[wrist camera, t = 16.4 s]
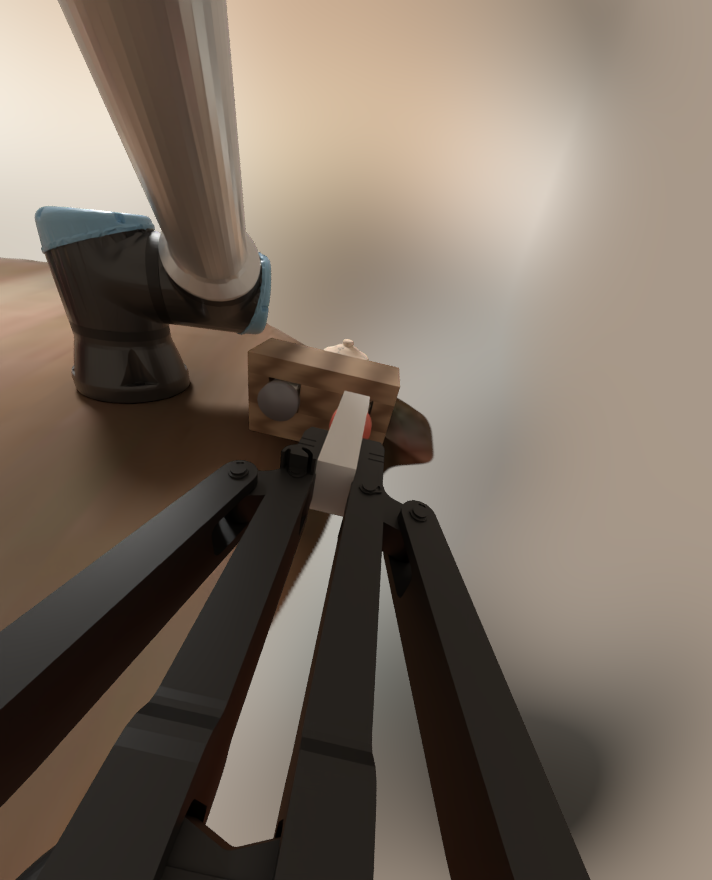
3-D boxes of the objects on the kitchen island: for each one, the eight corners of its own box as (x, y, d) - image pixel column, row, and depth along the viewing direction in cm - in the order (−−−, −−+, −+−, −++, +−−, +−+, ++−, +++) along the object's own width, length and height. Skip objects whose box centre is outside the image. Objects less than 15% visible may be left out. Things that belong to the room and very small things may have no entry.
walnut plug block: (249, 430, 42) (247, 351, 35) (269, 407, 48) (271, 337, 42) (377, 459, 42) (399, 386, 35) (380, 433, 48) (399, 367, 42)
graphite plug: (257, 416, 37) (257, 380, 34) (287, 383, 48) (289, 353, 45) (295, 425, 37) (298, 389, 34) (317, 390, 48) (320, 360, 45)
